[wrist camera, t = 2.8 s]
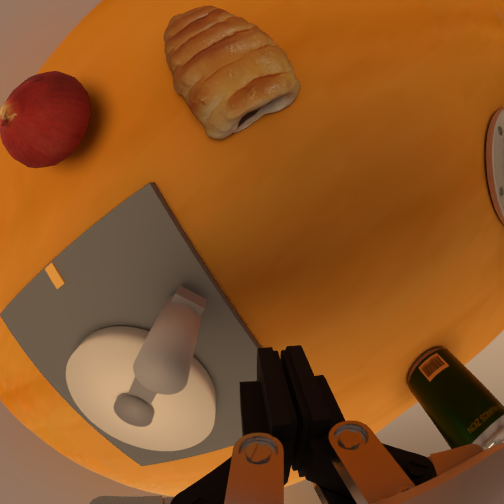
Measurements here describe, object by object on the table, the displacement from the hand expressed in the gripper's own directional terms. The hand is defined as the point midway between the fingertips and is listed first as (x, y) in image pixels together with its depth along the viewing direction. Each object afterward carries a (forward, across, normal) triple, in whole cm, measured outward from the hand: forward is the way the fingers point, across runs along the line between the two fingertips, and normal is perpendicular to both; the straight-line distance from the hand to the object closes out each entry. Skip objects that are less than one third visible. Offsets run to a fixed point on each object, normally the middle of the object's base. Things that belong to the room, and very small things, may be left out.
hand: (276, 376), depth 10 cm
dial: (+8, +8, +6) cm, 13 cm away
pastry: (+9, +2, -14) cm, 17 cm away
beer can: (+9, -17, +9) cm, 21 cm away
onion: (+9, +12, -12) cm, 20 cm away
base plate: (+9, +10, +7) cm, 15 cm away
